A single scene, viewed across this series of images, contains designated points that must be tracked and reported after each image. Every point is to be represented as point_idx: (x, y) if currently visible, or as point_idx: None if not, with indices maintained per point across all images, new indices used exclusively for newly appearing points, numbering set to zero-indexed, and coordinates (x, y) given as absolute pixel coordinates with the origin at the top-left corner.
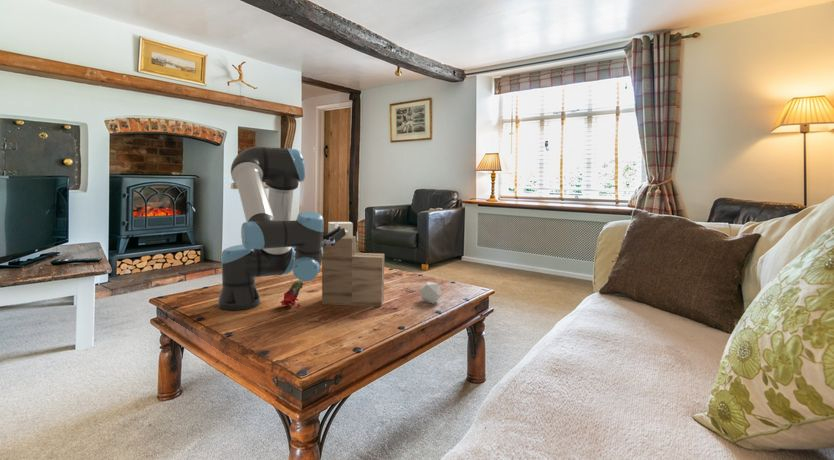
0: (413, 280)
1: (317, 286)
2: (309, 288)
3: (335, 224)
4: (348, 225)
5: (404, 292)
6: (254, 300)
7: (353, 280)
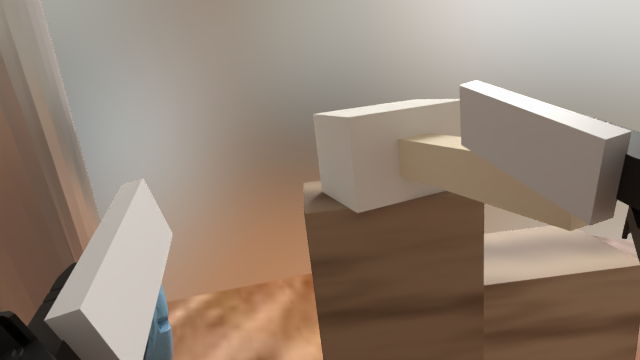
0: None
1: (266, 328)
2: (245, 348)
3: (499, 98)
4: (448, 113)
5: None
6: None
7: None
